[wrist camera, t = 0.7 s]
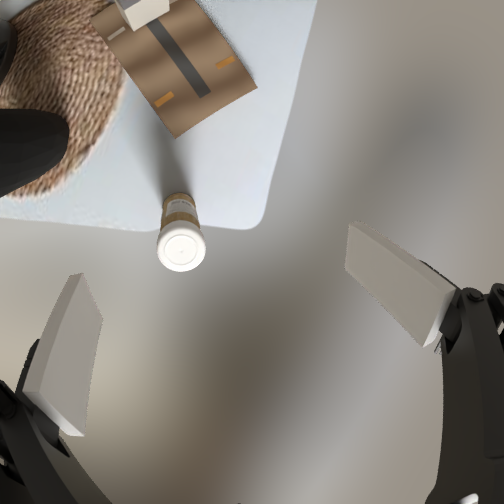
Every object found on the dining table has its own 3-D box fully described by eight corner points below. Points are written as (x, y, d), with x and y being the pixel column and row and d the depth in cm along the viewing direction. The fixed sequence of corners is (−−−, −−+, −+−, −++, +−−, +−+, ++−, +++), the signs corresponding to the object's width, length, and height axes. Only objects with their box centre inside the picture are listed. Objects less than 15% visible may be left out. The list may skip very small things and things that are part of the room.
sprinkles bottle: (157, 216, 35) (148, 263, 23) (171, 186, 34) (167, 219, 22) (187, 229, 37) (193, 279, 25) (202, 200, 36) (215, 238, 24)
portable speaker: (28, 110, 23) (-66, 114, 6) (82, 112, 26) (-5, 107, 9) (19, 169, 26) (-71, 213, 9) (70, 175, 29) (-13, 226, 12)
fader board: (93, 24, 20) (88, 20, 18) (170, -21, 20) (170, -28, 18) (175, 138, 31) (175, 139, 29) (253, 89, 31) (257, 87, 29)
